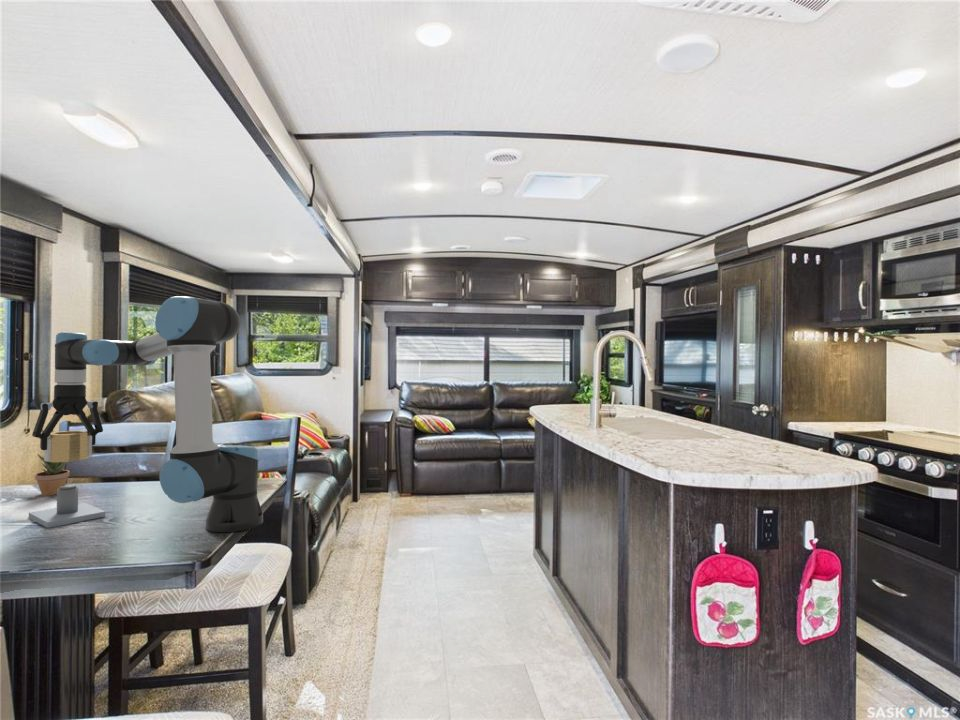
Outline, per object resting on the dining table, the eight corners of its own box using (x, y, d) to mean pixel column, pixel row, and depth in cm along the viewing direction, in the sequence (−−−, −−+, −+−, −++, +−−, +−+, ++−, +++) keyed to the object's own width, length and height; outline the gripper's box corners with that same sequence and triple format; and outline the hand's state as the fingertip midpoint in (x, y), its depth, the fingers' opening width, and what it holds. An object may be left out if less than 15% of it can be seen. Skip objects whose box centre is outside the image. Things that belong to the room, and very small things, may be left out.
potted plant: (28, 494, 180) (29, 423, 181) (59, 488, 189) (60, 421, 189) (45, 498, 177) (46, 425, 177) (76, 492, 185) (77, 422, 185)
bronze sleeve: (93, 458, 157) (93, 432, 157) (54, 463, 150) (55, 435, 150) (81, 455, 163) (81, 429, 163) (43, 459, 155) (44, 432, 155)
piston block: (105, 516, 157) (105, 486, 157) (47, 527, 146) (48, 495, 146) (84, 507, 166) (85, 478, 166) (28, 517, 155) (29, 487, 155)
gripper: (107, 382, 168) (105, 452, 167) (18, 384, 149) (16, 462, 149) (117, 383, 163) (115, 455, 163) (27, 385, 145) (25, 465, 145)
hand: (68, 458), depth 156 cm, fingers closed on bronze sleeve, 9 cm apart
